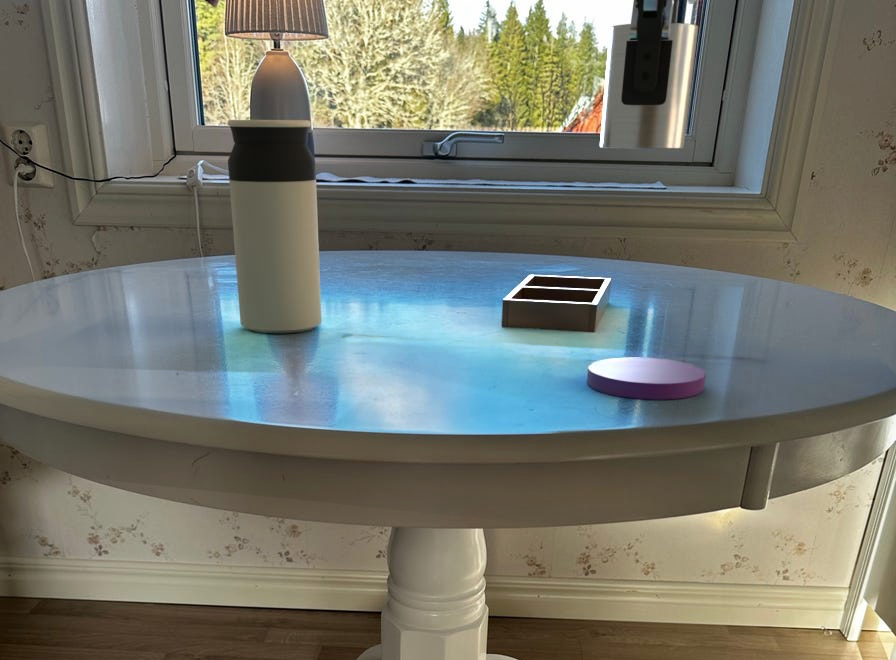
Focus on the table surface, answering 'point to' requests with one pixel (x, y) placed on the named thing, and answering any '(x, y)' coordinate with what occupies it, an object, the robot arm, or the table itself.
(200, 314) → the table surface
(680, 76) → the brushed metal canister
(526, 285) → the divided storage tray
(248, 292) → the travel mug
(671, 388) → the purple lid
